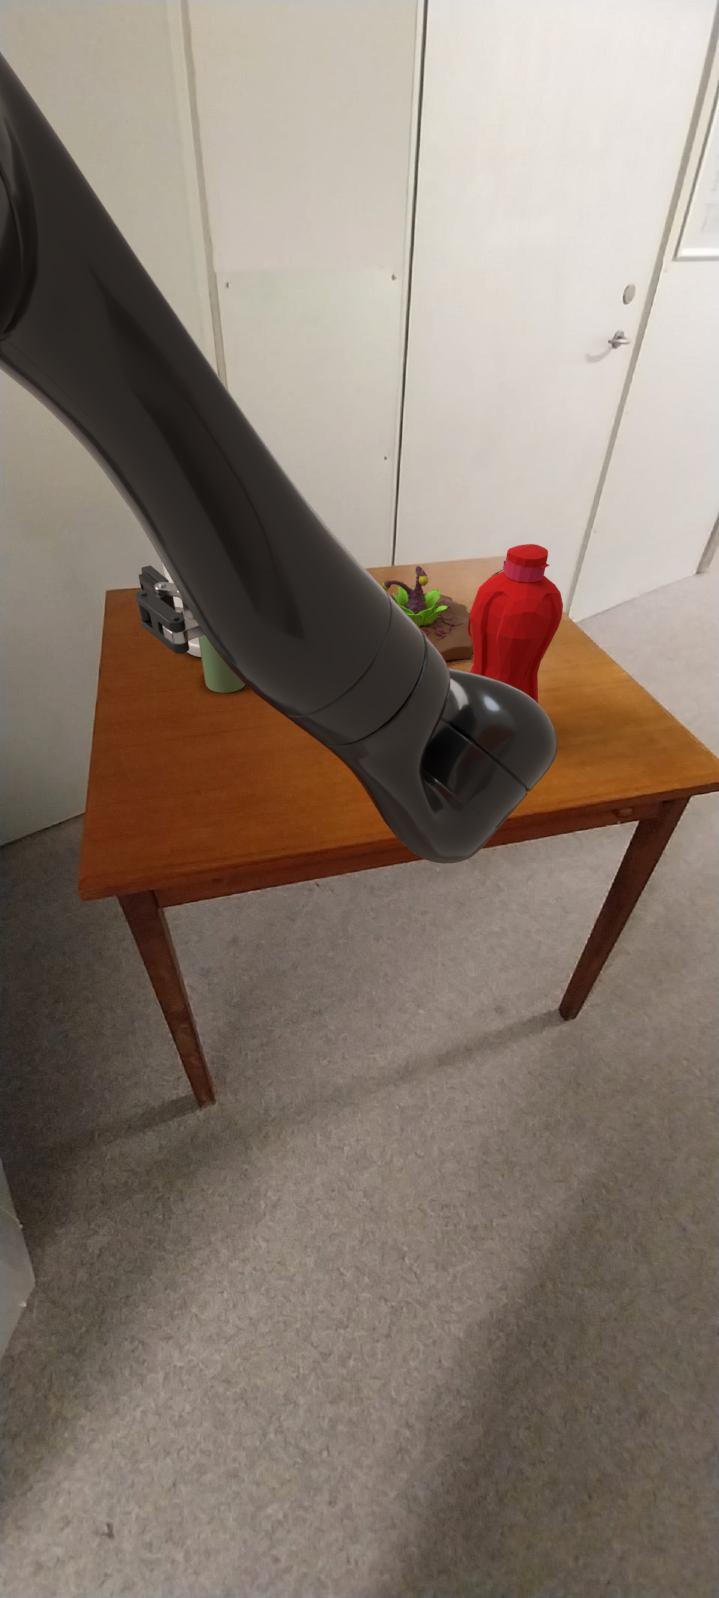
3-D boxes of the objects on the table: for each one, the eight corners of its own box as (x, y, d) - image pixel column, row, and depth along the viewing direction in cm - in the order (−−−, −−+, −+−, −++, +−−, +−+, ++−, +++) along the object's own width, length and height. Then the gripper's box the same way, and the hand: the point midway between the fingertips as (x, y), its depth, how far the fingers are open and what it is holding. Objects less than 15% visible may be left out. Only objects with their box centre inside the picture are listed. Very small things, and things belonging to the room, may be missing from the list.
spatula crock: (207, 695, 93) (180, 525, 77) (203, 672, 97) (176, 506, 81) (250, 689, 94) (232, 520, 78) (244, 667, 99) (226, 503, 83)
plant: (359, 669, 99) (361, 599, 91) (345, 608, 113) (345, 542, 105) (490, 663, 101) (502, 593, 93) (459, 603, 115) (468, 539, 108)
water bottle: (477, 701, 94) (508, 520, 77) (541, 737, 88) (590, 550, 71) (433, 726, 89) (455, 540, 72) (497, 766, 83) (537, 574, 66)
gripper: (383, 570, 47) (264, 502, 57) (201, 626, 41) (101, 539, 50) (378, 662, 52) (270, 586, 62) (216, 725, 46) (123, 629, 55)
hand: (194, 565), depth 56 cm, fingers open, 8 cm apart
